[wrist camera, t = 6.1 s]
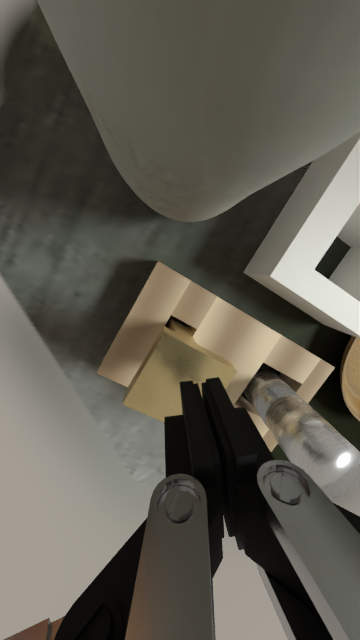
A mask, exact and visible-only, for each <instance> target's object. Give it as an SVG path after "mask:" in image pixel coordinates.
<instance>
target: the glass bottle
mask: <svg viewBox="0 0 360 640" xmlns="http://www.w3.org/2000/svg"><path fill="white" fill-rule="evenodd" d="M37 1H38V4H39V6H40V8H41V10H42V12H43V15H44V17H45V19H46V21H47V23H48V25H49V27H50V30H51V32H52V34H53V36H54V38H55V41H56V43H57V45H58V47H59V49H60V51H61V53H62V55H63V57H64V60H65V62H66V64H67V66H68V68H69V70H70V72H71V74H72V76H73V78H74V80H75V82H76V84H77V86H78V88H79V90H80V92H81V94H82V96H83V98H84V100H85V102H86V104H87V107H88V109H89V111H90V113H91V115H92V117H93V120H94V122H95V124H96V126H97V129H98V131H99V133H100V136H101V138H102V140H103V142H104V145H105V147H106V149H107V151H108V153H109V155H110V157H111V159H112V161H113V163H114V165H115V166H116V168H117V170H118V171H119V173H120V174H121V176H122V177H123V179H124V180H125V181H126V183H127V184H128V185H129V187H130V188H131V189H132V190H133V191H134V193H135V194H136V195H137V196H138V197H139V198H140V199H141V200H142V201H143V202H144V203H145V204H147V205H148V206H149V207H150V208H152V209H153V210H154V211H156V212H158V213H159V214H161V215H163V216H165V217H167V218H170V219H173V220H176V221H181V222H200V221H204V220H207V219H210V218H213V217H215V216H217V215H219V214H221V213H223V212H225V211H227V210H228V209H230V208H231V207H233V206H234V205H236V204H237V203H239V202H240V201H241V200H243V199H245V198H246V197H247V196H249V195H250V194H252V193H254V192H256V191H258V190H260V189H262V188H263V187H265V186H267V185H269V184H271V183H273V182H275V181H277V180H278V179H280V178H282V177H284V176H286V175H287V174H289V173H291V172H293V171H295V170H297V169H299V168H300V167H302V166H304V165H306V164H308V163H309V162H311V161H313V160H315V159H317V158H319V157H321V156H322V155H324V154H325V153H327V152H329V151H330V150H332V149H333V148H335V147H337V146H338V145H340V144H341V143H343V142H344V141H346V140H348V139H349V138H351V137H352V136H354V135H355V134H357V133H358V132H359V131H360V0H37Z"/></svg>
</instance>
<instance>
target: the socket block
mask: <svg viewBox="0 0 360 640" xmlns="http://www.w3.org/2000/svg"><path fill="white" fill-rule="evenodd" d="M171 315H172V316H174V317H176V318H178V319H179V320H181V321H183V322H185V323H187V324H188V328H189V330H190V332H191V334H192V336H193V338H194V340H195V342H196V344H198V345H200V346H202V347H204V348H206V349H208V350H210V351H211V352H213V353H215V354H217V355H219V356H221V357H223V358H225V359H226V360H228V361H230V362H231V363H232V364H233V366H234V367H235V368H236V370H237V373H236V374H235V376H234V377H233V379H232V380H231V382H230V383H229V385H228V386H227V388H226V389H225V390H226V392H227V394H228V396H229V398H230V400H231V402H232V404H233V406H234V408H238V407H245V408H246V410H247V411H248V413H249V415H250V417H251V418H252V420H253V422H254V424H255V426H256V427H257V429H258V431H259V433H260V434H261V436H262V438H263V440H264V441H265V443H266V445H267V447H268V449H269V450H270V452H272V450H273V449H274V448H275V446H276V445H277V444H278V442H277V441H276V439H275V438H274V436H273V435H272V434H271V432H270V431H269V429H268V428H267V426H266V425H265V423H264V422H263V420H262V419H261V417H260V416H259V414H258V413H257V411H256V410H255V408H254V407H253V405H252V404H251V402H250V401H249V400H248V398H247V397H245V396H243V395H241V394H242V392H243V391H244V389H245V388H246V387H247V385H248V384H249V382H250V381H251V379H252V378H253V376H254V375H255V374H256V372H257V371H258V369H259V368H260V366H261V365H262V363H265V364H267V365H269V366H271V367H272V368H274V369H276V370H278V371H280V372H281V374H280V376H279V377H280V378H281V379H282V380H283V381H284V382H285V383H286V384H287V385H288V386H290V387H291V388H292V389H293V390H294V391H295V392H296V393H297V394H298V395H299V396H300V397H301V398H302V399H303V400H305V401H306V402H307V403H309V401H310V400H311V399H312V397H313V396H314V395H315V393H316V392H317V391H318V390H319V388H320V387H321V386H322V384H323V383H324V382H325V380H326V379H327V378H328V376H329V375H330V374H331V372H332V371H333V370H334V368H335V367H334V366H332V365H330V364H329V363H327V362H325V361H324V360H322V359H320V358H319V357H317V356H315V355H314V354H312V353H310V352H309V351H307V350H305V349H304V348H302V347H300V346H299V345H297V344H295V343H294V342H292V341H290V340H289V339H287V338H285V337H284V336H282V335H280V334H279V333H277V332H275V331H274V330H272V329H270V328H269V327H267V326H265V325H264V324H262V323H260V322H259V321H257V320H255V319H254V318H252V317H250V316H249V315H247V314H245V313H244V312H242V311H240V310H239V309H237V308H235V307H234V306H232V305H230V304H229V303H227V302H225V301H224V300H222V299H220V298H219V297H217V296H215V295H214V294H212V293H210V292H209V291H207V290H205V289H204V288H202V287H200V286H199V285H197V284H195V283H194V282H192V281H191V280H189V279H187V278H186V277H184V276H182V275H181V274H179V273H177V272H176V271H174V270H172V269H171V268H169V267H167V266H166V265H164V264H162V263H161V262H159V261H157V263H156V265H155V267H154V269H153V270H152V272H151V274H150V276H149V278H148V279H147V281H146V283H145V285H144V287H143V288H142V290H141V292H140V294H139V296H138V297H137V299H136V301H135V303H134V305H133V306H132V308H131V310H130V312H129V314H128V315H127V317H126V319H125V321H124V323H123V325H122V326H121V328H120V330H119V332H118V334H117V335H116V337H115V339H114V341H113V343H112V344H111V346H110V348H109V350H108V352H107V353H106V355H105V357H104V359H103V361H102V363H101V365H100V367H99V369H98V371H97V374H99V375H101V376H104V377H106V378H108V379H110V380H112V381H115V382H117V383H119V384H121V385H124V386H126V387H128V386H129V384H130V382H131V381H132V379H133V377H134V376H135V374H136V372H137V371H138V369H139V367H140V365H141V364H142V362H143V360H144V359H145V357H146V355H147V354H148V352H149V350H150V349H151V347H152V345H153V343H154V342H155V340H156V338H157V337H158V335H159V333H160V332H161V330H162V328H163V326H165V324H166V322H167V321H168V319H169V317H170V316H171Z"/></svg>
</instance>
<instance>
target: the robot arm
mask: <svg viewBox="0 0 360 640" xmlns="http://www.w3.org/2000/svg"><path fill="white" fill-rule="evenodd" d="M201 386H202V395H201V392H200V389H199V385H198V383H195V384H193V381H192V380H191V381H183V382H180V393H181V403H182V414H183V415H175V416H167V417H164V424H165V462H166V478H165V479H163V480H162V481H161V482H160V483H159V484H158V485H157V487H156V488H155V489H154V491H153V494H152V497H151V501H150V506H149V512H148V517H147V519H146V520H145V521H144V522H143V523H142V524H141V526H140V527H139V528H138V529H137V530H136V531H135V533H134V534H133V535H132V536H131V537H130V538H129V540H128V541H127V542H126V543H125V544H124V545H123V547H122V548H121V549H120V550H119V551H118V553H117V554H116V555H115V556H114V557H113V558H112V559H111V561H110V562H109V563H108V564H107V565H106V566H105V568H104V569H103V570H102V571H101V572H100V573H99V575H98V576H97V577H96V578H95V579H94V581H93V582H92V583H91V584H90V585H89V586H88V588H87V589H86V590H85V591H84V592H83V593H82V595H81V596H80V597H79V598H78V599H77V600H76V602H75V603H74V604H73V605H72V607H71V608H70V610H69V611H68V613H67V614H66V615H65V616H64V617H62V618H60V619H58V620H56V621H54V622H52V623H51V622H50V619H49V618H48V619H46V620H43V621H41V622H39V623H37V624H35V625H33V626H31V627H29V628H27V629H25V630H23V631H21V632H19V633H16V634H14V635H12V636H10V637H8V638H6V639H4V640H216V639H215V619H214V601H213V581H212V578H213V576H214V575H215V573H216V571H217V569H218V566H219V565H220V563H221V561H222V559H223V552H222V538H224V524H223V515H224V519H225V523H226V527H227V531H228V535H229V537H232V536H235V538H236V541H237V545H238V549H239V550H241V549H244V551H245V554H246V555H247V556H248V557H250V558H251V559H252V560H253V561H254V562H256V563H257V566H258V570H259V573H260V576H261V578H262V581H263V583H264V585H265V588H266V590H267V592H268V594H269V597H270V599H271V601H272V603H273V606H274V608H275V611H276V613H277V615H278V617H279V619H280V622H281V624H282V627H283V629H284V631H285V634H286V636H287V638H288V640H360V517H359V516H357V515H355V514H353V513H352V512H349V511H348V510H346V509H344V508H342V507H340V506H338V505H336V504H334V503H332V501H331V500H330V499H329V498H328V497H327V496H326V495H325V493H324V492H323V491H322V490H321V489H320V488H319V486H318V485H317V484H316V483H315V482H314V481H313V479H312V478H311V477H310V476H309V475H308V474H307V473H306V472H305V471H304V470H303V469H301V468H300V467H298V466H296V465H295V464H292V463H290V462H287V461H282V460H275V459H274V457H273V456H272V454H271V452H270V450H269V449H268V447H267V445H266V443H265V441H264V440H263V438H262V436H261V434H260V433H259V431H258V429H257V427H256V426H255V424H254V422H253V420H252V418H251V417H250V415H249V413H248V411H247V410H246V408H245V407H238V408H234V406H233V404H232V402H231V400H230V398H229V396H228V394H227V392H226V390H225V388H224V386H223V384H222V382H221V380H220V378H219V377H216V378H208V379H206V382H204V383H202V384H201Z"/></svg>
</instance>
